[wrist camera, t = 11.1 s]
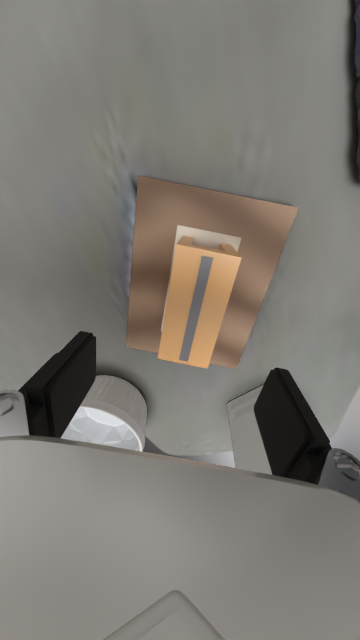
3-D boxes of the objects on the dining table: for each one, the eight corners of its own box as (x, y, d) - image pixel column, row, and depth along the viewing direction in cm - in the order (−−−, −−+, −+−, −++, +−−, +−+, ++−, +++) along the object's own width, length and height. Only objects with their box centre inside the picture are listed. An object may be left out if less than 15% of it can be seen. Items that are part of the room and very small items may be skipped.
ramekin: (158, 430, 36) (148, 475, 30) (83, 427, 37) (60, 470, 31) (147, 367, 30) (133, 407, 24) (59, 366, 31) (24, 404, 25)
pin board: (234, 361, 28) (240, 386, 24) (129, 340, 28) (117, 361, 24) (292, 208, 20) (315, 207, 16) (142, 177, 20) (127, 169, 16)
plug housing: (206, 334, 25) (207, 369, 19) (167, 326, 25) (157, 359, 19) (231, 244, 20) (241, 257, 15) (183, 235, 20) (176, 244, 15)
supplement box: (224, 402, 32) (237, 508, 20) (270, 379, 29) (314, 487, 18) (252, 430, 34) (278, 540, 22) (297, 411, 31) (351, 525, 20)
